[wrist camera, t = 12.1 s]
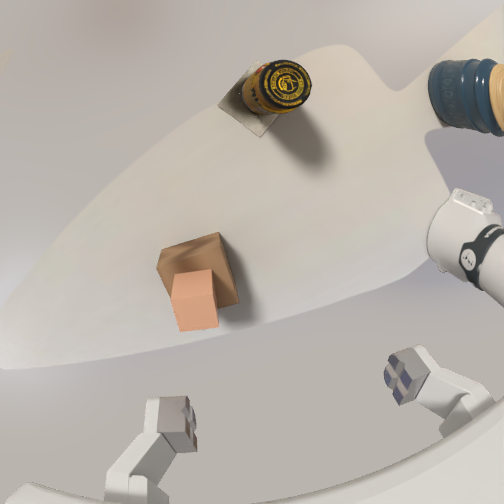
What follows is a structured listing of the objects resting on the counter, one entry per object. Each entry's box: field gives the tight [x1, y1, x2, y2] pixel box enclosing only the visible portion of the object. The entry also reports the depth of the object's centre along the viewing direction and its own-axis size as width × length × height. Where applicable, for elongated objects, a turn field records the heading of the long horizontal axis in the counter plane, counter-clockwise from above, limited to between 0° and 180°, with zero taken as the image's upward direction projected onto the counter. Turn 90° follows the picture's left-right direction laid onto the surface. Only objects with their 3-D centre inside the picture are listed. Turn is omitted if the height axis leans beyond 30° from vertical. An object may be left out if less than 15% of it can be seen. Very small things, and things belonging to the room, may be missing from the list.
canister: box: [428, 59, 504, 137], centre depth 28 cm, size 13×13×18 cm
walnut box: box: [156, 232, 239, 309], centre depth 41 cm, size 9×9×6 cm
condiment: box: [218, 60, 312, 137], centre depth 29 cm, size 7×8×12 cm
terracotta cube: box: [171, 269, 219, 332], centre depth 36 cm, size 5×5×6 cm
